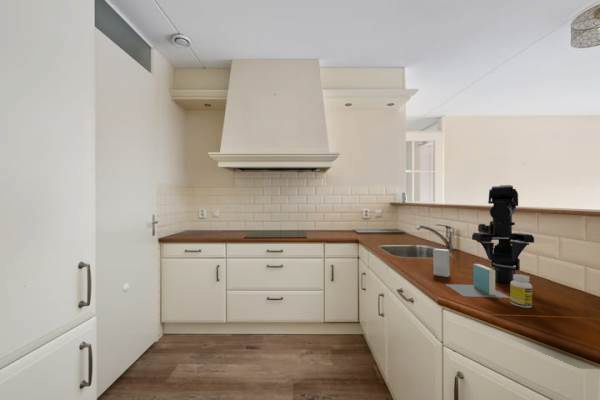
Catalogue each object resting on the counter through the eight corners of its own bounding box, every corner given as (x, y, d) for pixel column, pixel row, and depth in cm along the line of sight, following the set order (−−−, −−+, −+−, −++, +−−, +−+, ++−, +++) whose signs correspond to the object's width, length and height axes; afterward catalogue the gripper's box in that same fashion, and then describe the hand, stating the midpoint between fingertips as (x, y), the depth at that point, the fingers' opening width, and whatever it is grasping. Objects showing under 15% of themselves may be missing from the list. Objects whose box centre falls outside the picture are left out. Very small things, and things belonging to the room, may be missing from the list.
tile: (478, 286, 99) (479, 263, 99) (495, 295, 90) (495, 270, 90) (473, 286, 99) (473, 263, 99) (488, 295, 90) (488, 270, 90)
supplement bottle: (527, 310, 79) (527, 279, 79) (506, 303, 84) (507, 274, 84) (535, 306, 81) (535, 276, 81) (514, 300, 86) (514, 272, 86)
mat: (486, 286, 101) (486, 285, 101) (511, 298, 88) (511, 297, 88) (445, 285, 102) (445, 284, 102) (463, 297, 89) (463, 296, 89)
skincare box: (449, 275, 115) (449, 249, 115) (448, 278, 111) (448, 250, 111) (434, 273, 119) (434, 247, 119) (432, 275, 115) (432, 249, 115)
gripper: (512, 217, 102) (512, 256, 102) (464, 217, 103) (463, 255, 103) (535, 219, 91) (535, 262, 91) (481, 219, 92) (481, 261, 92)
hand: (502, 260), depth 94 cm, fingers open, 8 cm apart
